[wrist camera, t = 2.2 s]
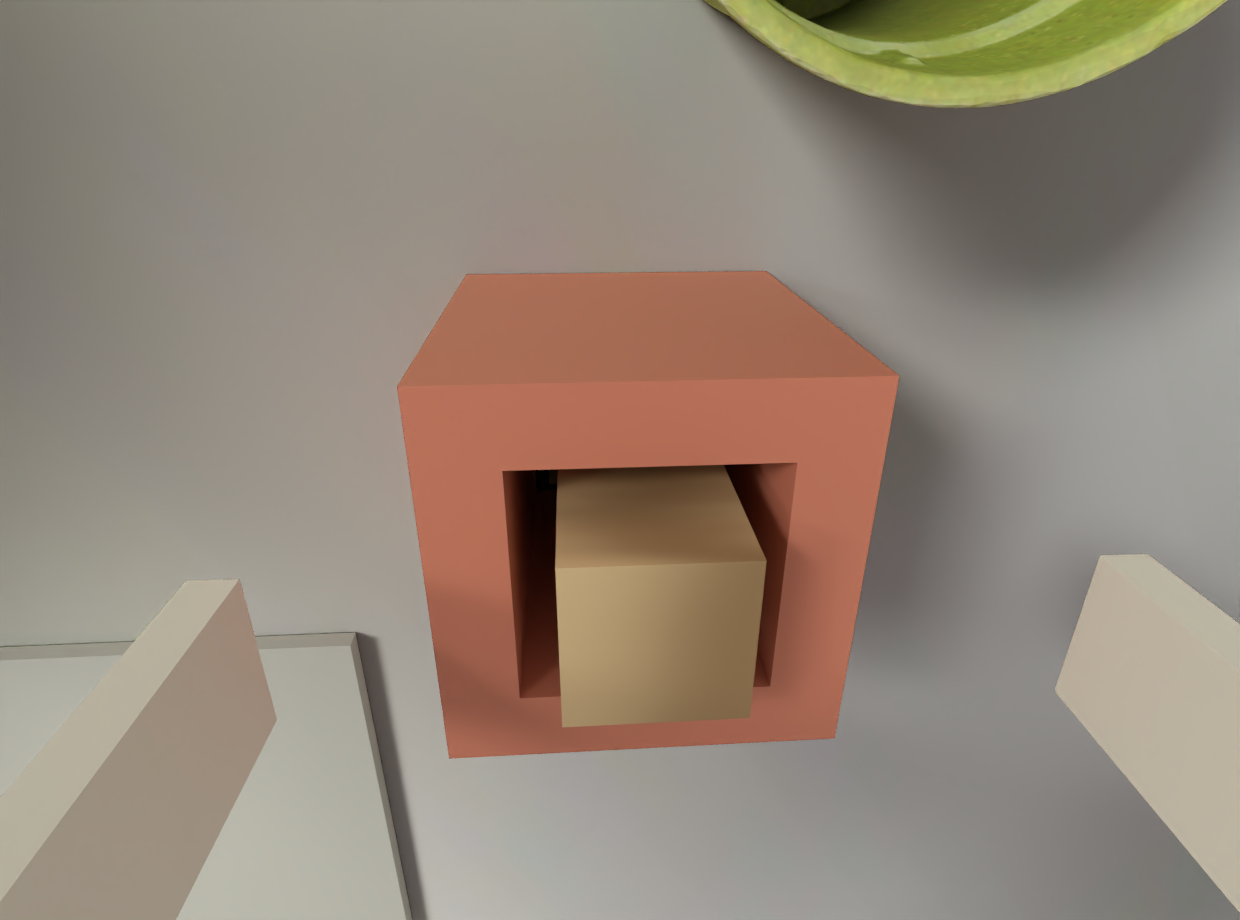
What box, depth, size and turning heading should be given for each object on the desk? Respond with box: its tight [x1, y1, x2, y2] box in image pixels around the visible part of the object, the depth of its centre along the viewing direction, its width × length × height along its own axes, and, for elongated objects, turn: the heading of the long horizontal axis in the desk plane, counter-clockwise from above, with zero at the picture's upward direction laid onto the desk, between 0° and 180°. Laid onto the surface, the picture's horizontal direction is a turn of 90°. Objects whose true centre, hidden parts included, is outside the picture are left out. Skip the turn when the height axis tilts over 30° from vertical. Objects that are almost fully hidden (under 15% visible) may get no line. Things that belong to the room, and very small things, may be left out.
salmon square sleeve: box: [397, 271, 899, 758], centre depth 16 cm, size 7×7×8 cm
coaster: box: [0, 632, 412, 920], centre depth 24 cm, size 14×14×1 cm
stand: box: [549, 465, 767, 727], centre depth 15 cm, size 4×4×10 cm
